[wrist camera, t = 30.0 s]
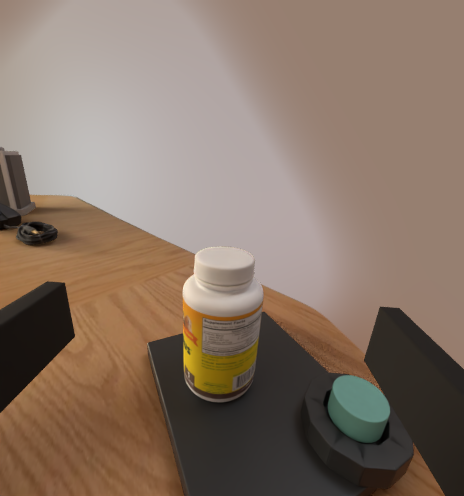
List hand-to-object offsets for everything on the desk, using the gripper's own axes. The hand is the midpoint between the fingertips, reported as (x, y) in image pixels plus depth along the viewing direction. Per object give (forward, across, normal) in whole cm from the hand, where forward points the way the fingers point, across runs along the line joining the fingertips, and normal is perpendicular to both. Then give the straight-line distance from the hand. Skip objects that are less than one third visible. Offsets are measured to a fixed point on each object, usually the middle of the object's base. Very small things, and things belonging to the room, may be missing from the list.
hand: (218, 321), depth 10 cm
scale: (+6, +2, -11) cm, 13 cm away
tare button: (+3, +9, -8) cm, 12 cm away
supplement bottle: (+6, 0, -10) cm, 12 cm away
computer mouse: (+41, -51, -11) cm, 67 cm away
